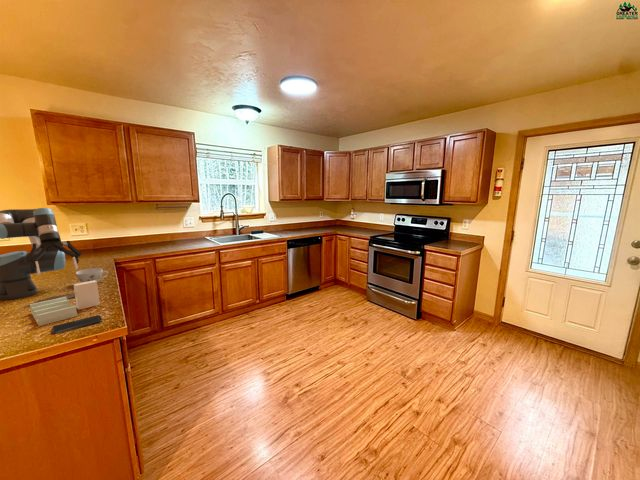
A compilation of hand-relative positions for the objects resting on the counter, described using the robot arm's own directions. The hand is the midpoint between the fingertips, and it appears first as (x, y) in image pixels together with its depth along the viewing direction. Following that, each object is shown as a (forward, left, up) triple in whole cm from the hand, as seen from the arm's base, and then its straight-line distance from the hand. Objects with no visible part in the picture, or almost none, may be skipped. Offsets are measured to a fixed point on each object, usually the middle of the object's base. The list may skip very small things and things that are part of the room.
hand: (58, 271), depth 132 cm
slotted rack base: (+19, -6, -16) cm, 26 cm away
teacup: (-24, +18, -16) cm, 34 cm away
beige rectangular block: (+19, +6, -16) cm, 26 cm away
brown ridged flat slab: (-5, -1, -16) cm, 17 cm away
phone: (+40, -2, -16) cm, 43 cm away
